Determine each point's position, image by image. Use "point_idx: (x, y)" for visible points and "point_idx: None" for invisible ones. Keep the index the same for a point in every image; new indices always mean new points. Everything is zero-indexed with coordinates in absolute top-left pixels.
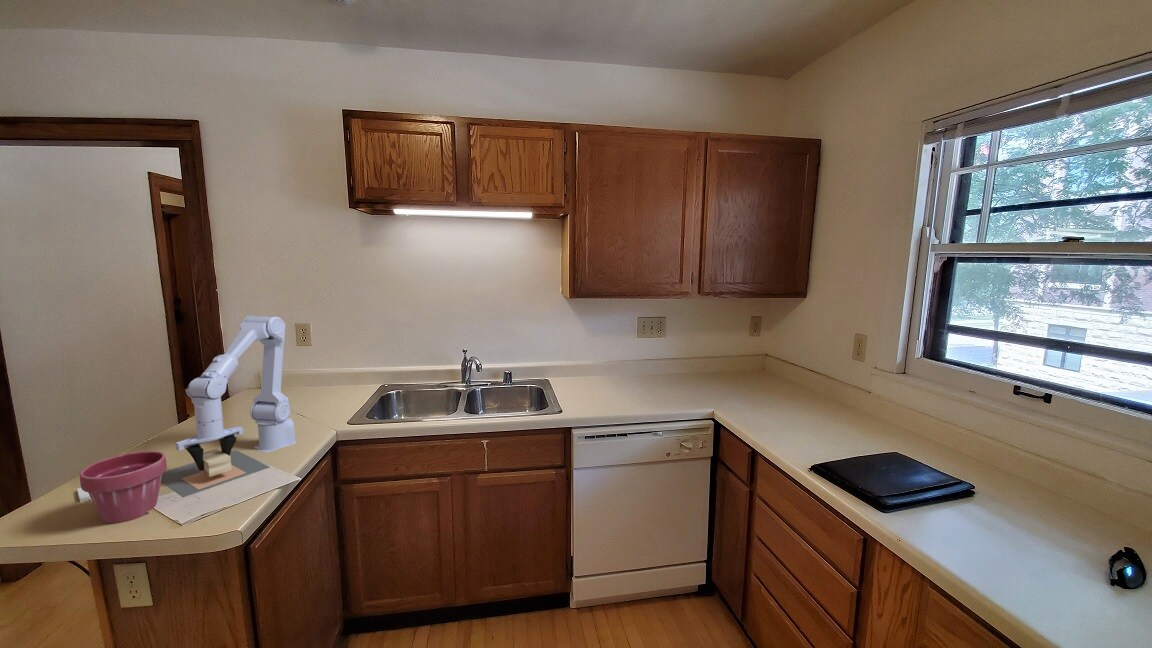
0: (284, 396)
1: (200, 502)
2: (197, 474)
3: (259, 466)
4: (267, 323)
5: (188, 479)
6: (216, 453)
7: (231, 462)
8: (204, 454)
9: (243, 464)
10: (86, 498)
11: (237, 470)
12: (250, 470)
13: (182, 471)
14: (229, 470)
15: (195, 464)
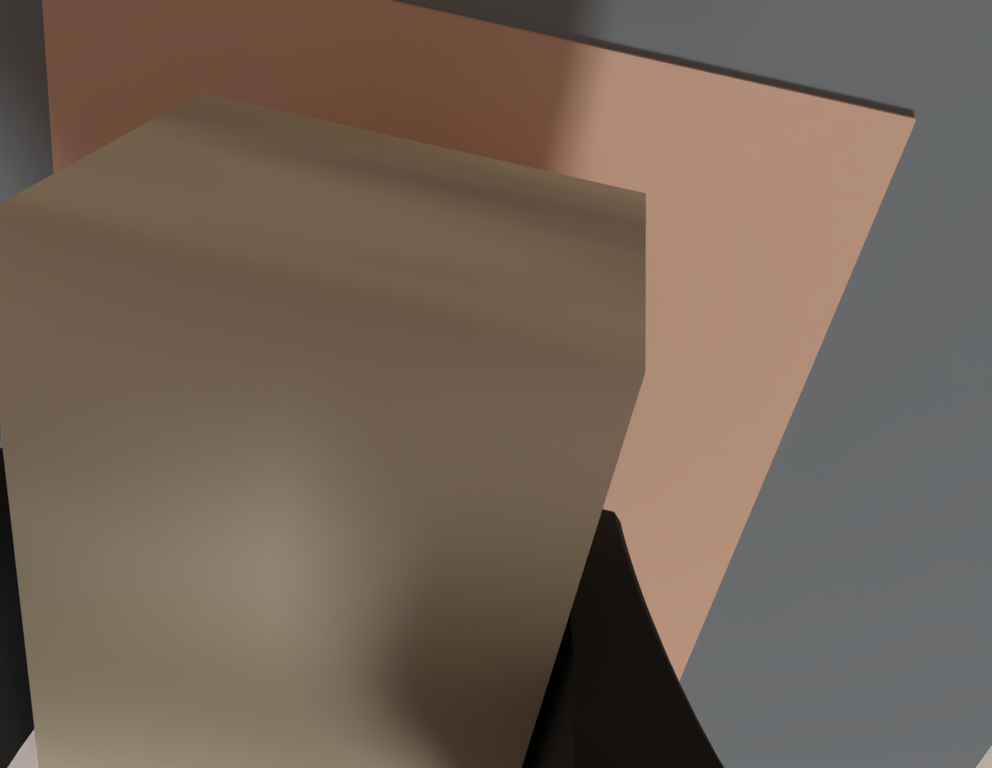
0: None
1: (36, 749)
2: (287, 49)
3: (913, 710)
4: None
5: (103, 126)
6: (404, 675)
7: (989, 103)
8: (192, 453)
9: (936, 434)
10: None
11: (686, 554)
12: (755, 696)
13: None
14: (644, 440)
15: (147, 130)
